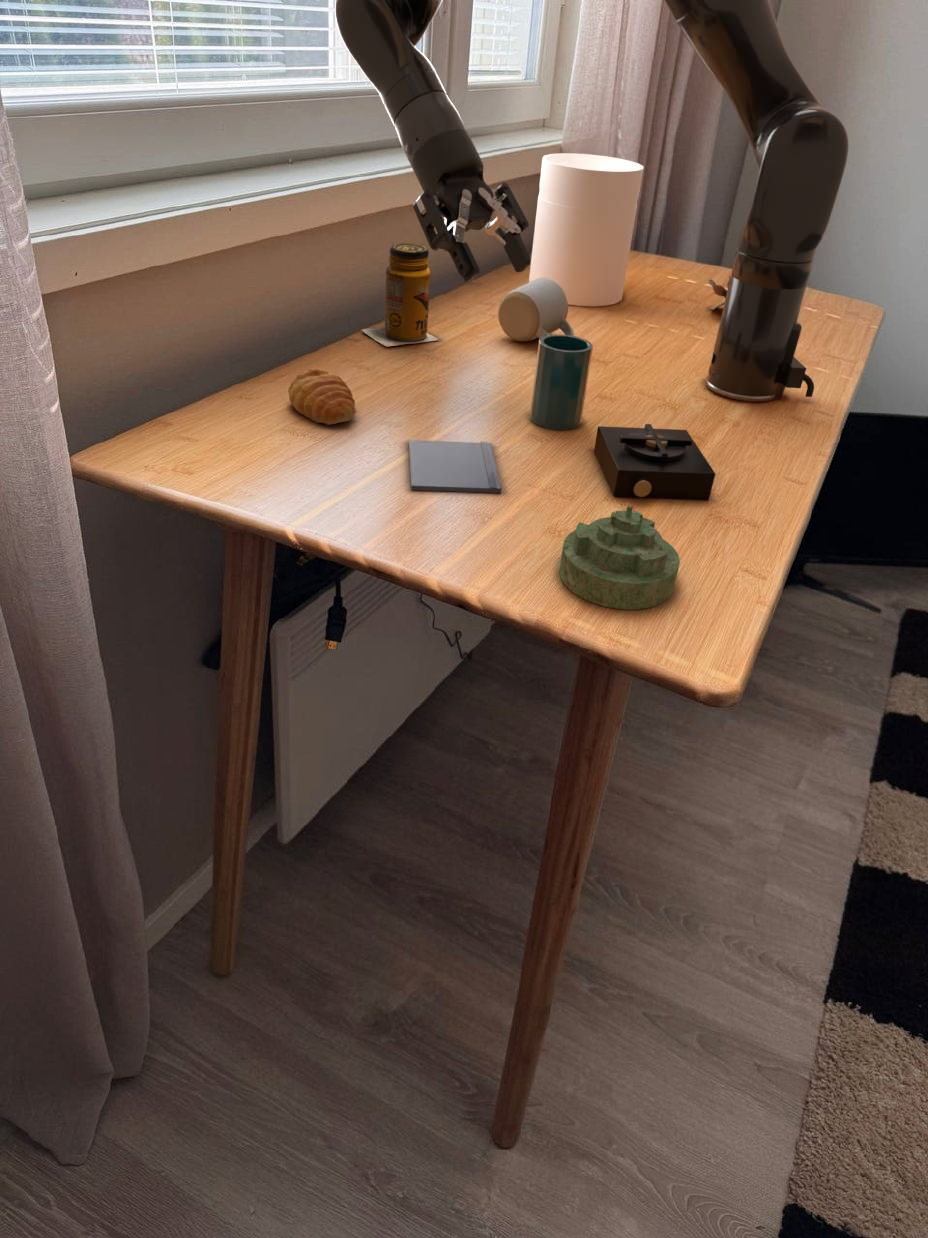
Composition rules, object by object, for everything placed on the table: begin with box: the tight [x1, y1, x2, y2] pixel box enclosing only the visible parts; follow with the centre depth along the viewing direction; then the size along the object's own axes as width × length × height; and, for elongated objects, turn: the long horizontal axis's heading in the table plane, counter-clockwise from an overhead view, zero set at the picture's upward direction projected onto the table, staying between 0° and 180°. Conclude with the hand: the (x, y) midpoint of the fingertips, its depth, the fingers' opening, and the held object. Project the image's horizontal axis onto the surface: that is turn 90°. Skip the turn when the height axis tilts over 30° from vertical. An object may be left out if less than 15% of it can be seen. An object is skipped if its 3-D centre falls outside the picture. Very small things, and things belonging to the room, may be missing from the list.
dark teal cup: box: [529, 334, 594, 431], centre depth 107 cm, size 6×6×9 cm
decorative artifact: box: [558, 504, 681, 611], centre depth 79 cm, size 10×7×10 cm
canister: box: [528, 152, 645, 307], centre depth 151 cm, size 16×16×20 cm
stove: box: [593, 423, 716, 501], centre depth 97 cm, size 10×12×4 cm
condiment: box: [361, 242, 439, 347], centre depth 127 cm, size 7×8×12 cm
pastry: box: [288, 368, 357, 426], centre depth 105 cm, size 9×7×4 cm
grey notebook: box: [408, 439, 502, 494], centre depth 97 cm, size 9×11×1 cm
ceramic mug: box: [497, 278, 575, 342], centre depth 132 cm, size 11×8×8 cm
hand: (499, 272), depth 108 cm, fingers open, 8 cm apart
